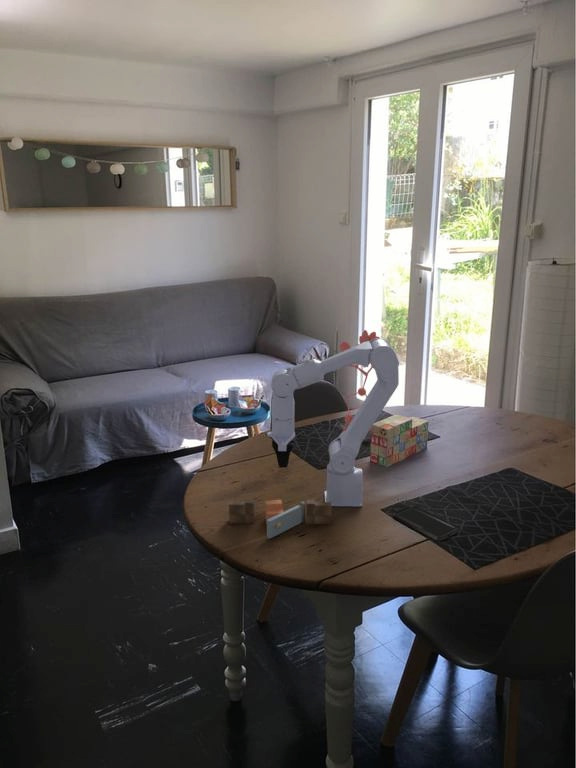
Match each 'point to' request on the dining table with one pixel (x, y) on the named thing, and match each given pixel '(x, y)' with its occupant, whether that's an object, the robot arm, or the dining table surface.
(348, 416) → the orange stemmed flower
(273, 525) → the door
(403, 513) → the phone
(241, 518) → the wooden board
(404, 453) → the stack of blocks
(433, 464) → the dining table surface
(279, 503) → the orange block
